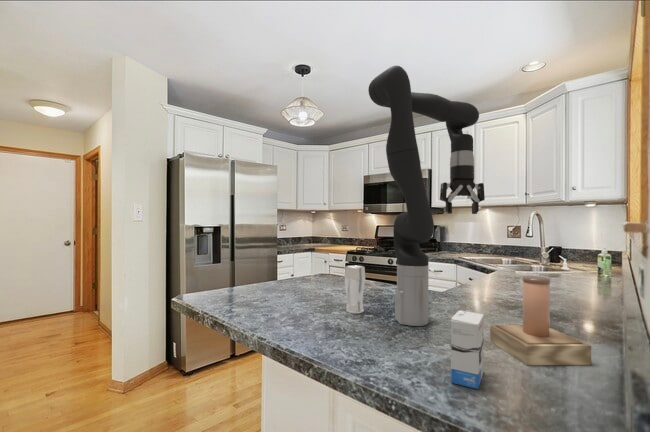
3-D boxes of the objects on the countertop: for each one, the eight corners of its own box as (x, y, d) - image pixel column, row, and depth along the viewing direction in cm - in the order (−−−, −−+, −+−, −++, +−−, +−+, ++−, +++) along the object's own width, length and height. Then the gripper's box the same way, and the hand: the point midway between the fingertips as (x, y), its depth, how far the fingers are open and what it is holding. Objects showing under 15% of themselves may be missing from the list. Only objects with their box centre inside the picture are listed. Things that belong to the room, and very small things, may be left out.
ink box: (479, 390, 57) (479, 324, 57) (449, 383, 60) (449, 319, 60) (484, 372, 64) (484, 312, 65) (458, 366, 67) (457, 309, 67)
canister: (523, 334, 74) (523, 278, 74) (521, 327, 78) (521, 275, 79) (552, 338, 71) (552, 281, 71) (547, 331, 76) (548, 277, 76)
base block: (526, 365, 67) (526, 344, 68) (490, 340, 81) (490, 323, 82) (591, 364, 68) (591, 344, 68) (544, 340, 82) (543, 323, 82)
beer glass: (341, 312, 106) (341, 267, 107) (348, 307, 113) (348, 264, 113) (361, 314, 104) (362, 268, 104) (367, 309, 110) (367, 265, 111)
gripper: (445, 163, 105) (445, 213, 104) (488, 164, 105) (488, 213, 105) (437, 167, 112) (437, 214, 112) (477, 168, 113) (477, 214, 112)
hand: (462, 213), depth 108 cm, fingers open, 8 cm apart
